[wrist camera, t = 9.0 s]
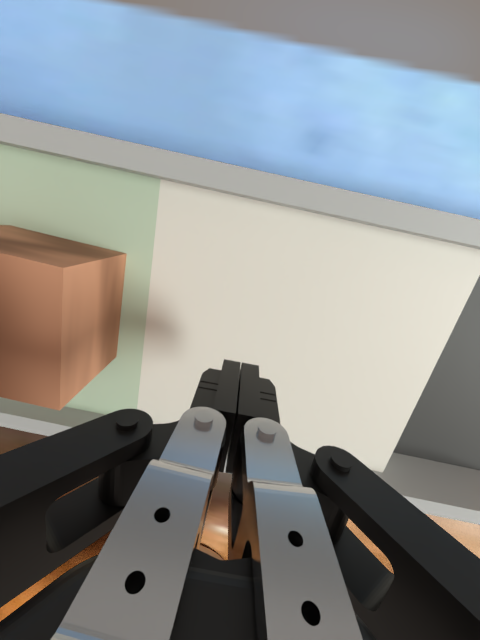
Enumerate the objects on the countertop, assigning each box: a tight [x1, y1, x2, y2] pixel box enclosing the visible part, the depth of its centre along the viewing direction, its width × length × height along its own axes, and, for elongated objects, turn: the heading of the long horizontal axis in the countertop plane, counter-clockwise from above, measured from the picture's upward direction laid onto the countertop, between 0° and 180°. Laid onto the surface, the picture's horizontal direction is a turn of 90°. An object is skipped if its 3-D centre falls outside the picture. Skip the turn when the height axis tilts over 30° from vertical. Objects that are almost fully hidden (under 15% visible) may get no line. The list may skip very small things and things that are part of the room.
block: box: [0, 225, 127, 411], centre depth 13 cm, size 6×6×5 cm
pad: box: [0, 144, 161, 415], centre depth 17 cm, size 10×14×2 cm
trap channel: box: [0, 113, 480, 525], centre depth 16 cm, size 44×16×4 cm, turn 78°
